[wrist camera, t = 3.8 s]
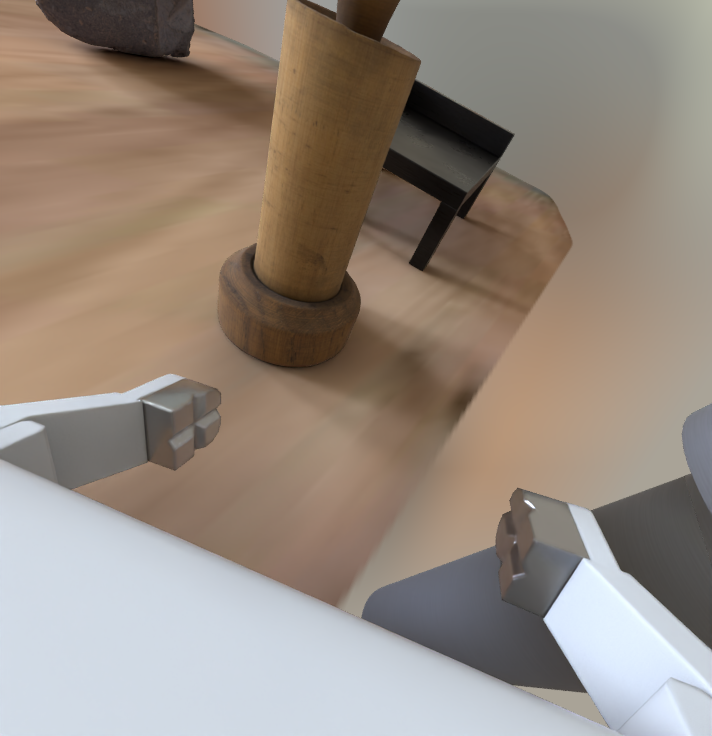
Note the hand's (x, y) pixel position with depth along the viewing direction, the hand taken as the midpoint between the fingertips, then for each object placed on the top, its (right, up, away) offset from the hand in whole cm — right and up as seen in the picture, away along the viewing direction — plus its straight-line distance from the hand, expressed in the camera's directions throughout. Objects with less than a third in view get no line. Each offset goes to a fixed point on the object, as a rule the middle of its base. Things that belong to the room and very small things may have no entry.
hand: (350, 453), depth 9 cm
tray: (+4, +17, +22) cm, 28 cm away
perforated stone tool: (-22, +34, +25) cm, 48 cm away
